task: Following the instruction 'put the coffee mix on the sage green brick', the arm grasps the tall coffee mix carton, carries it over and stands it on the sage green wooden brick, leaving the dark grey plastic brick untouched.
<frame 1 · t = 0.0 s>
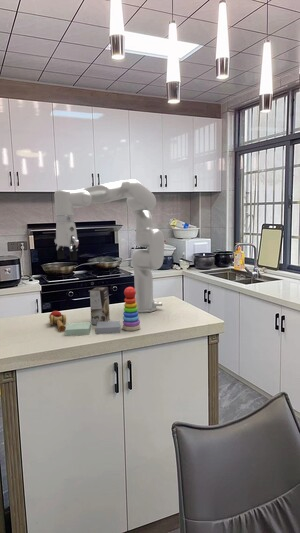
hand: (67, 259, 162), 31 cm above the countertop, tool pointing down, fingers open, 9 cm apart
kendama: (58, 327, 172), on the countertop
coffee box: (100, 322, 177), on the countertop
grey brick: (108, 330, 164), on the countertop
sage brick: (78, 332, 163), on the countertop
stacking toy: (131, 329, 165), on the countertop
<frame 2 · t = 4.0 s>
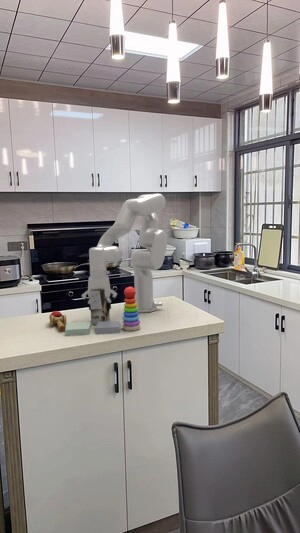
hand: (100, 310, 176), 5 cm above the countertop, tool pointing down, fingers closed on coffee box, 7 cm apart
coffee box: (100, 322, 177), on the countertop, touching gripper
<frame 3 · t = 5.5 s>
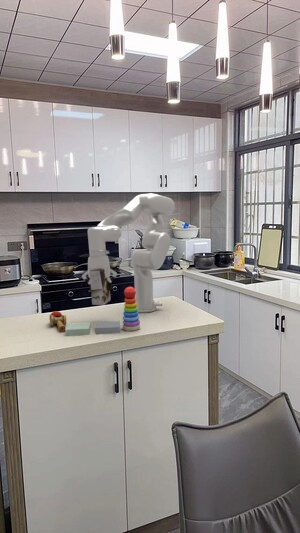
hand: (100, 291, 176), 15 cm above the countertop, tool pointing down, fingers closed on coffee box, 7 cm apart
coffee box: (101, 302, 176), point 9 cm above the countertop, touching gripper
everything else where it was.
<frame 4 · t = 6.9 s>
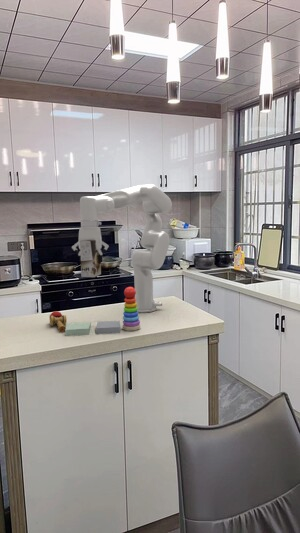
hand: (91, 263, 169), 28 cm above the countertop, tool pointing down, fingers closed on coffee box, 7 cm apart
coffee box: (91, 276, 170), point 23 cm above the countertop, touching gripper
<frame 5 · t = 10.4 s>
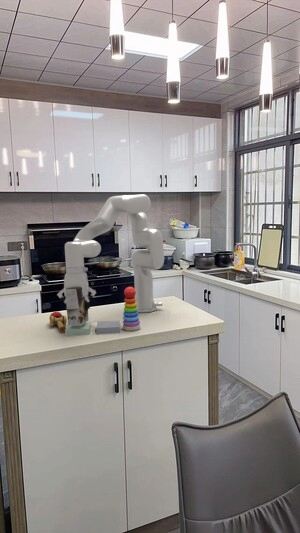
hand: (77, 310, 162), 9 cm above the countertop, tool pointing down, fingers closed on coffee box, 7 cm apart
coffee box: (78, 323, 163), point 4 cm above the countertop, touching gripper
when the fingers open (9 cm above the countertop, at t = 10.6 s): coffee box drops 1 cm, point 2 cm above the countertop.
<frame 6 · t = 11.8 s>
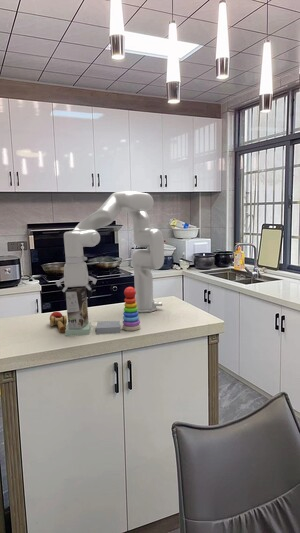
hand: (78, 299, 162), 14 cm above the countertop, tool pointing down, fingers open, 9 cm apart
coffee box: (78, 326, 163), point 2 cm above the countertop
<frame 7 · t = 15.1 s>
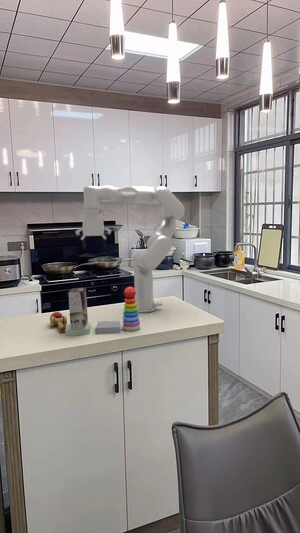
hand: (94, 247, 183), 34 cm above the countertop, tool pointing down, fingers open, 9 cm apart
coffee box: (79, 326, 162), point 2 cm above the countertop, touching sage brick
sage brick: (78, 332, 163), on the countertop, touching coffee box
at the end: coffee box 1.2 cm off-centre on the sage brick, point 3.1 cm above the sage brick's base; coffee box tilted 5°; grey brick moved 0.5 cm from its start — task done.
